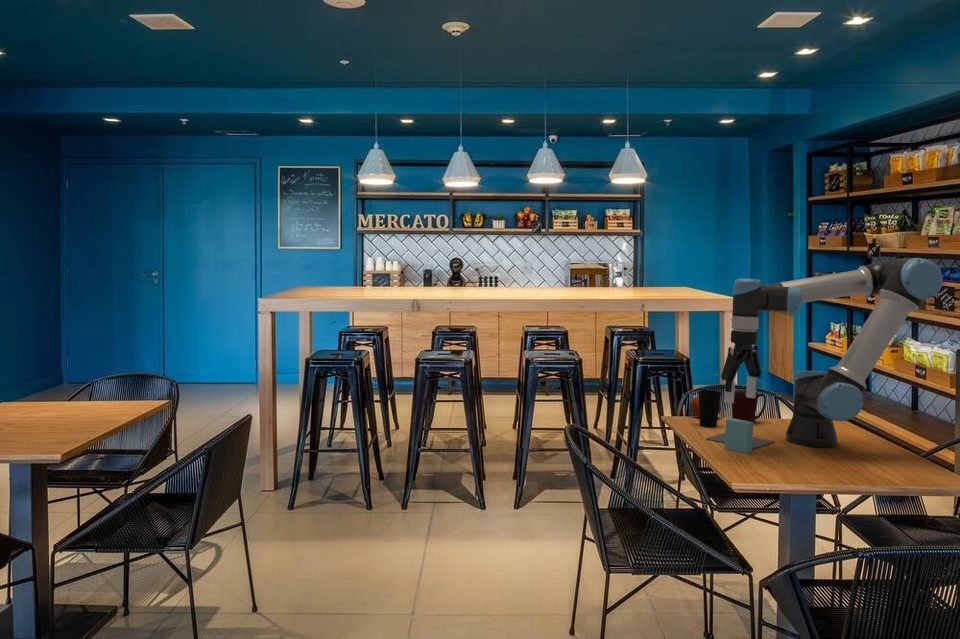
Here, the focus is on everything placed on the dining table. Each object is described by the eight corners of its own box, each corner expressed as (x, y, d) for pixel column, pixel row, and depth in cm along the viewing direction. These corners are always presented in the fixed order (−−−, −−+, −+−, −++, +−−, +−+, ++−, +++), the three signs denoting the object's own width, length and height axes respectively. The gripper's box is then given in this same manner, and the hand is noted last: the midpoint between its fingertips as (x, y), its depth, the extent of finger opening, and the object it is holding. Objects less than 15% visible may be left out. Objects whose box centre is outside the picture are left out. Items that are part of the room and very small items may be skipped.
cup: (721, 425, 257) (723, 391, 256) (717, 429, 250) (719, 394, 249) (698, 422, 260) (700, 389, 259) (694, 426, 254) (696, 392, 253)
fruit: (720, 415, 273) (721, 394, 272) (720, 421, 263) (721, 399, 262) (690, 413, 276) (691, 392, 275) (689, 419, 266) (690, 397, 265)
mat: (727, 433, 245) (727, 432, 245) (774, 442, 233) (774, 441, 233) (706, 439, 235) (706, 438, 235) (753, 449, 223) (753, 448, 223)
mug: (760, 420, 267) (761, 390, 266) (769, 425, 258) (770, 394, 257) (726, 419, 267) (728, 389, 266) (734, 424, 258) (736, 393, 257)
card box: (730, 446, 227) (731, 418, 226) (751, 451, 222) (753, 422, 221) (724, 448, 224) (726, 419, 223) (746, 453, 219) (747, 423, 218)
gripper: (752, 327, 231) (747, 393, 233) (711, 330, 214) (707, 402, 216) (775, 329, 226) (770, 397, 227) (735, 333, 209) (731, 406, 210)
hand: (740, 400), depth 222 cm, fingers open, 13 cm apart
